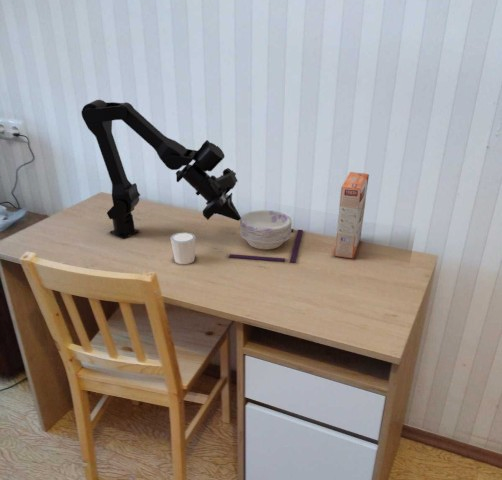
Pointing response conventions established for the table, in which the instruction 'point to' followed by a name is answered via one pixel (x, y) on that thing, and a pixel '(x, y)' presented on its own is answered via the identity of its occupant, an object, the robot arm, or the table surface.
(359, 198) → the cracker box
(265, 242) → the paper bowls
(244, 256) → the frame
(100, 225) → the table surface
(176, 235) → the shot glass
